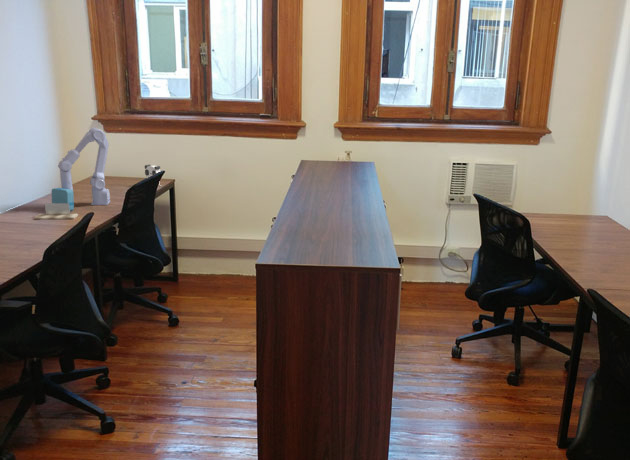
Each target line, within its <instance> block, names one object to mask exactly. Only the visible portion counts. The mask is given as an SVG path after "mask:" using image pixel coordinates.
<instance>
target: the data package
mask: <svg viewBox="0 0 630 460" xmlns="http://www.w3.org/2000/svg"><path fill="white" fill-rule="evenodd" d="M73 192H74V189H73V190H70V189H63V188H62V187H61V188H60V187H55V188H51V203H69V207H70V212H72V211H74V210H75V209H74V208H75V204H74V203H75V200H74V199H75V198H74V197H75V196H74V195H75V194H74V193H75V192H74V193H73Z"/></svg>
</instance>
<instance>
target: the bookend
mask: <svg viewBox="0 0 630 460" xmlns="http://www.w3.org/2000/svg"><path fill="white" fill-rule="evenodd" d="M44 206H45V207H44V209H45V213H39V214H37V215H36V216H35V217H33V220H36V221H38V220H39V221H40V220H41V221H42V220H45V221H46V220H47V221H48V220H55V221H56V220H75V219H76V218H77V217H78V216H79V213H71V211H70V207H69V203H52V202H50V203H49V202H46V203H44Z"/></svg>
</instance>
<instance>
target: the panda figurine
mask: <svg viewBox="0 0 630 460" xmlns="http://www.w3.org/2000/svg"><path fill="white" fill-rule="evenodd" d="M144 169H145V170H144V174H145V177H146V178H147V179H148V177H150V176H152V175H154V174H156V173H158V172H161V166H160V165H151V164H145V165H144ZM159 185H160V186H161V184H160V182H159Z"/></svg>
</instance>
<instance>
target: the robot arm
mask: <svg viewBox="0 0 630 460" xmlns="http://www.w3.org/2000/svg"><path fill="white" fill-rule="evenodd" d="M92 142H96V144H97V145H98V148H97V149H98V150H97V156H96V163H95V167H94V172H93V174H92V176H91V178H90V180H89V183H90V185H91V186H92V187H91V196H92V202H91V203H90V205H91V206H98V205H99V206H105V205H106V206H107V205H109V204H110V203H111V194H110V190H109V189H108V188H106V182H105V179H106V178H105V169H106V162H107V157H108V151H109V146H110V145H109V141H108V139H107V135H106V133H105V132H104V131H103V130H102V129H99V128H97V127H91V128H90V129H89V130H88V131H87V132H86V133H85V134H84V135H83V137H82V139H80V141H79V143H78V144H77V145H76V147H75V148H74V149H71V150H68V151H67V154H66V155H65V156H64V157H63V158H62V160H60V161H58V165H57V168H59V173H60V174H59V177H60V185H61V188H63V189H70V190H73V193H75V191H74V188H73V181H72V180H73V179H72V172H71V171H72V168H73V167H72V166H73V165H74V164H75V162H76V161H77V160H78V159H79V157H80V155H81V154H80V152H82V151H83V150H84V149H85V147H86V146H87V145H88V144H89V143H92Z"/></svg>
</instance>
